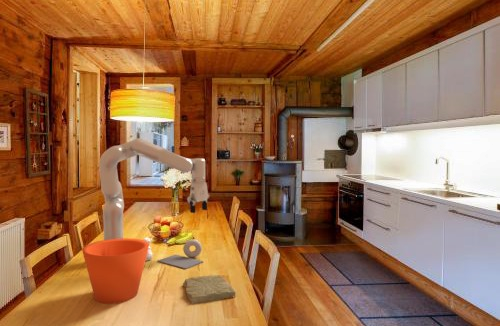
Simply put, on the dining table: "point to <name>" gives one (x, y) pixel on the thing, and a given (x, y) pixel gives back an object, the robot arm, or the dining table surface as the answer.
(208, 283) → the stone slab
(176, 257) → the rubber mat
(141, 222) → the dining table surface
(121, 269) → the flowerpot
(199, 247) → the donut
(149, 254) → the white creature statuette
